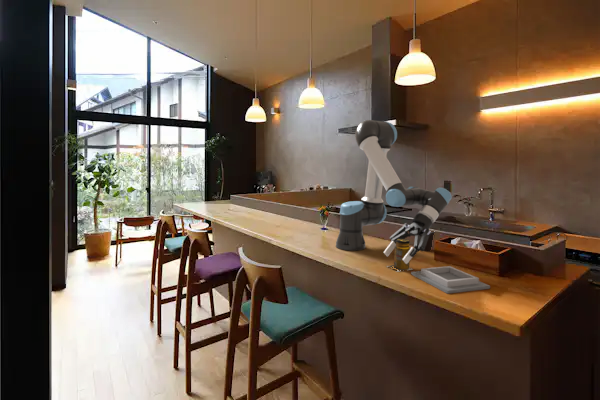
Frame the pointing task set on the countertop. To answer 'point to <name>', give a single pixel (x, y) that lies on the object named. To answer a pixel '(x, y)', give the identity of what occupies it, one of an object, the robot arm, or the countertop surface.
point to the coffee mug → (429, 242)
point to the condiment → (401, 255)
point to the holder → (450, 279)
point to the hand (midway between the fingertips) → (394, 258)
